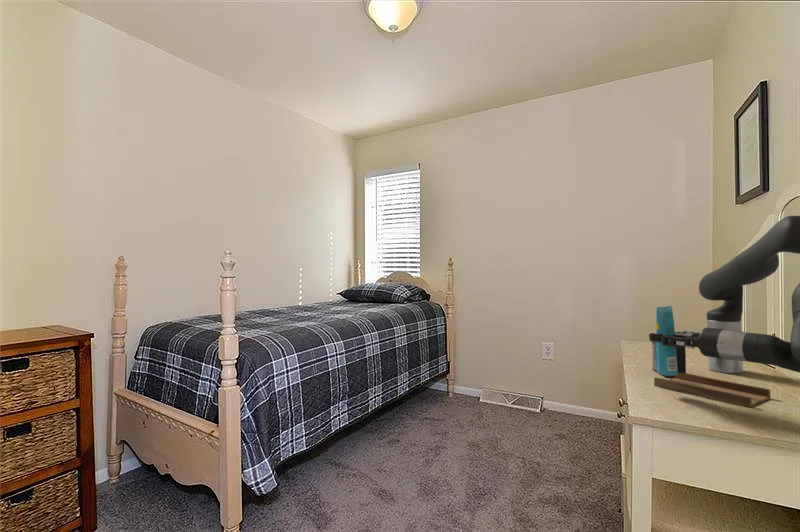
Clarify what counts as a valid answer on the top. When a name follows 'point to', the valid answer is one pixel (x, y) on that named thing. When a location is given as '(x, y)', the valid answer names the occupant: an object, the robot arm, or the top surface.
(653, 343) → the small box
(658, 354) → the tube
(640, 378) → the top surface
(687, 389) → the brown wooden tray
